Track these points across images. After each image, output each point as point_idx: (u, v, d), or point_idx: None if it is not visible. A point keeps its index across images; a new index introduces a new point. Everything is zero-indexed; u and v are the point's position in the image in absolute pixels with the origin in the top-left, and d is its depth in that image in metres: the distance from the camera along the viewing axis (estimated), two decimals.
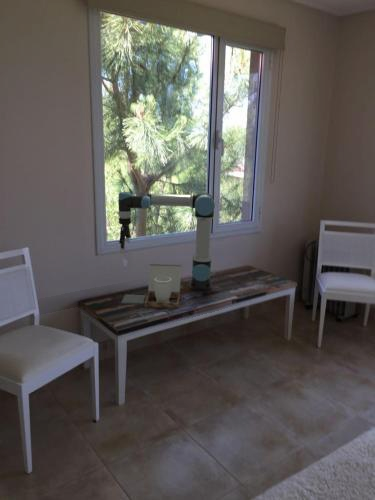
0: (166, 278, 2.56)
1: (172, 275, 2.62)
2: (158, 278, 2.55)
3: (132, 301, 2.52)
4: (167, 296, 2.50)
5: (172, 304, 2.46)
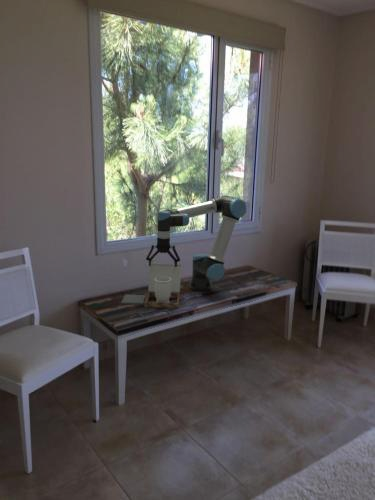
0: (166, 278, 2.56)
1: (172, 275, 2.62)
2: (158, 278, 2.55)
3: (132, 301, 2.52)
4: (167, 296, 2.50)
5: (172, 304, 2.46)
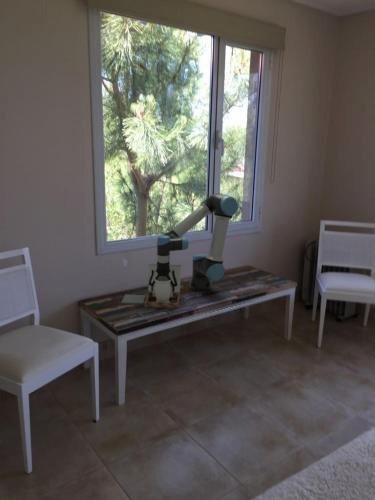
0: (166, 278, 2.56)
1: None
2: (158, 278, 2.55)
3: (132, 301, 2.52)
4: (167, 296, 2.50)
5: (172, 304, 2.46)
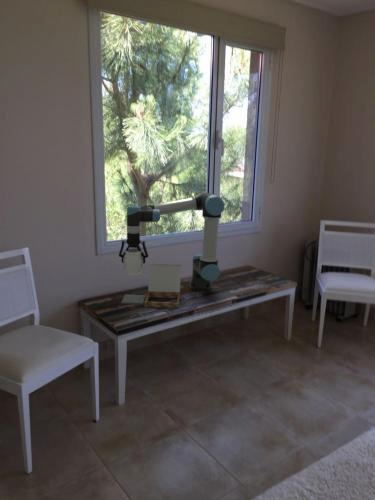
0: (137, 250, 2.53)
1: (172, 275, 2.62)
2: (129, 250, 2.52)
3: (132, 301, 2.52)
4: (137, 267, 2.47)
5: (172, 304, 2.46)
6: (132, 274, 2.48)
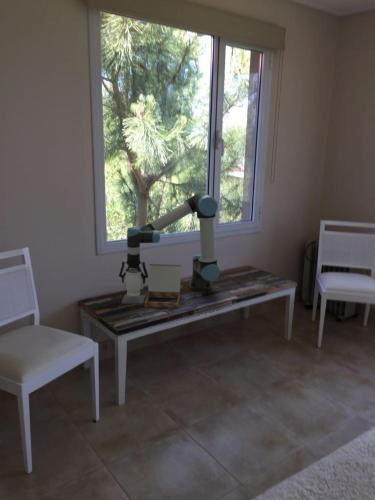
0: (137, 270, 2.56)
1: (172, 275, 2.62)
2: (129, 270, 2.56)
3: (132, 301, 2.52)
4: (137, 288, 2.51)
5: (172, 304, 2.46)
6: (132, 294, 2.51)
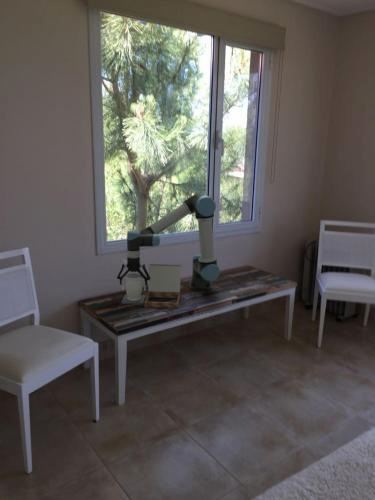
0: (137, 275, 2.57)
1: (172, 275, 2.62)
2: (129, 275, 2.56)
3: (132, 301, 2.52)
4: (138, 293, 2.52)
5: (172, 304, 2.46)
6: (132, 299, 2.52)
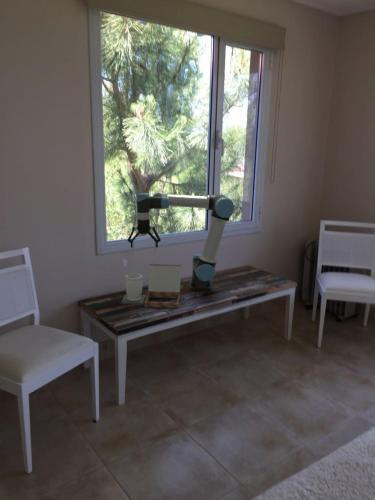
0: (137, 275, 2.57)
1: (172, 275, 2.62)
2: (129, 275, 2.56)
3: (132, 301, 2.52)
4: (138, 293, 2.52)
5: (172, 304, 2.46)
6: (132, 299, 2.52)
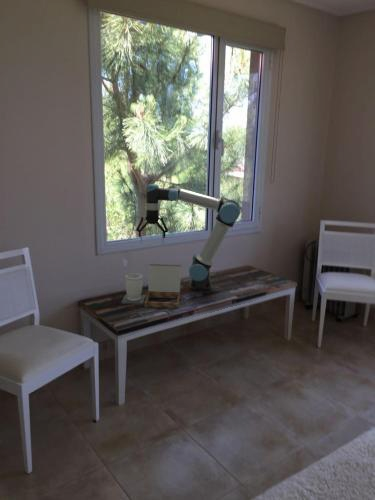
0: (137, 275, 2.57)
1: (172, 275, 2.62)
2: (129, 275, 2.56)
3: (132, 301, 2.52)
4: (138, 293, 2.52)
5: (172, 304, 2.46)
6: (132, 299, 2.52)
